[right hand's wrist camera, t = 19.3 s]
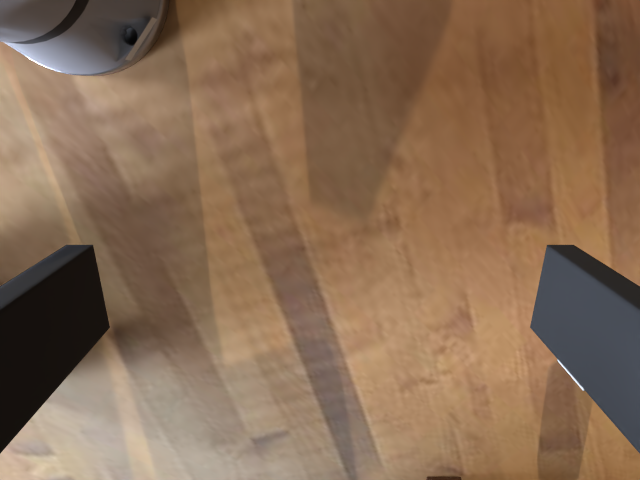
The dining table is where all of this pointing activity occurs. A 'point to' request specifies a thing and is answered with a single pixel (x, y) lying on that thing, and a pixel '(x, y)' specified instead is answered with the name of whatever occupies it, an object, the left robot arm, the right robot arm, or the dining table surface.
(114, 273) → the dining table surface
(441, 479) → the walnut beam
